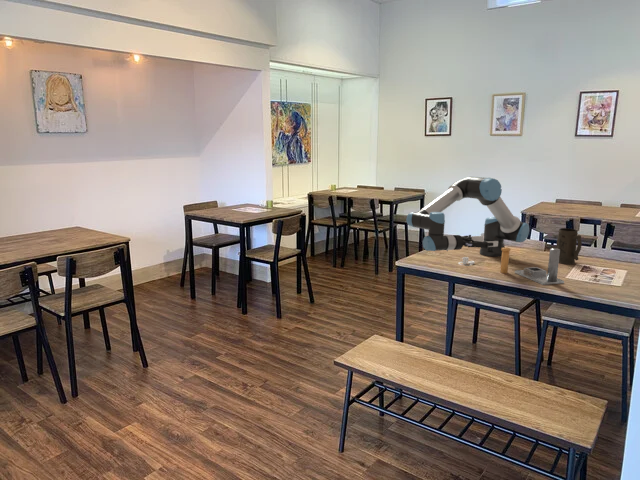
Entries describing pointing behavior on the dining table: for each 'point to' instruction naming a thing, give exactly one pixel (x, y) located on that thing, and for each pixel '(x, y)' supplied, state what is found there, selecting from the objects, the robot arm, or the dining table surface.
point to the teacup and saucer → (466, 261)
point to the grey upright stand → (540, 274)
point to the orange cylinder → (504, 260)
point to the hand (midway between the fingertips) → (490, 240)
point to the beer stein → (568, 245)
